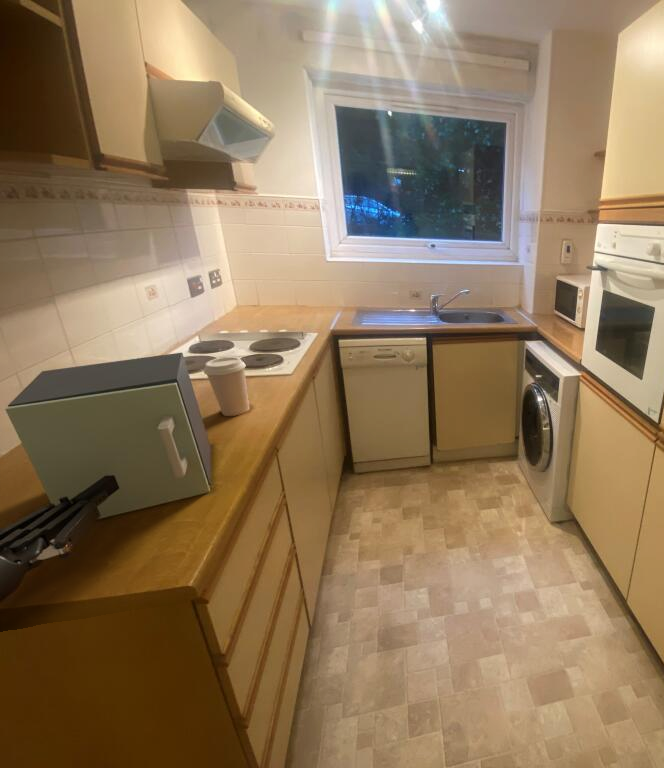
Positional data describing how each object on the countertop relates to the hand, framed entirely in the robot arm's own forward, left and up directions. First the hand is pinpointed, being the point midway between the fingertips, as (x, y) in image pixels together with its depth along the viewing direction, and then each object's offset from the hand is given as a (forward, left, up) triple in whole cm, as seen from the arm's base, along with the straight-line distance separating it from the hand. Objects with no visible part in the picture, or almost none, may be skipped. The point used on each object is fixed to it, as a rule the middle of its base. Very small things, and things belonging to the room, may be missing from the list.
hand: (112, 482), depth 75 cm
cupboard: (+1, +15, -9) cm, 17 cm away
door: (+1, +1, -9) cm, 9 cm away
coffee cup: (+18, +43, -9) cm, 47 cm away
